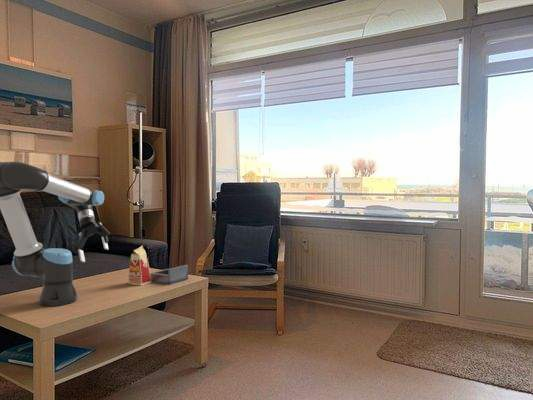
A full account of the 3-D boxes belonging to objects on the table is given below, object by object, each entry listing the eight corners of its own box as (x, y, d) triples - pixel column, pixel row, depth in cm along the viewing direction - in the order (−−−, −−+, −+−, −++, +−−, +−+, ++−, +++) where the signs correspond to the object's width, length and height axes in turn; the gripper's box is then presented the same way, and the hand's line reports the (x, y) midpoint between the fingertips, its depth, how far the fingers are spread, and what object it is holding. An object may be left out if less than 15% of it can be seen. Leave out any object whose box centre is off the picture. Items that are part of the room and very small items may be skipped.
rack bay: (170, 284, 210) (170, 269, 210) (150, 281, 218) (149, 266, 218) (188, 279, 222) (188, 265, 222) (168, 276, 230) (168, 262, 230)
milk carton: (139, 280, 219) (138, 244, 219) (152, 282, 215) (151, 245, 215) (126, 284, 211) (126, 246, 211) (139, 285, 207) (139, 247, 207)
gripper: (112, 211, 209) (120, 245, 199) (71, 233, 211) (78, 268, 200) (103, 206, 203) (111, 241, 193) (61, 229, 204) (67, 264, 194)
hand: (94, 255), depth 196 cm, fingers open, 13 cm apart
